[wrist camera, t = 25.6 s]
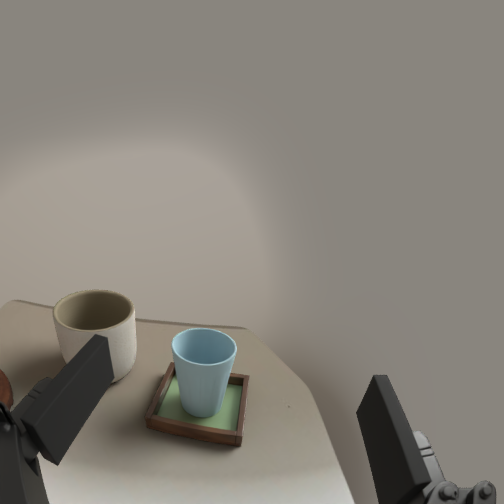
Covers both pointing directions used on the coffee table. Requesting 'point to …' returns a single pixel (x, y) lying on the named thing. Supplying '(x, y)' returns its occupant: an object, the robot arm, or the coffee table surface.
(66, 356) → the planter
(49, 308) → the coffee table surface
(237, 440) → the wooden serving tray
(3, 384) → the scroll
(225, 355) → the cup
